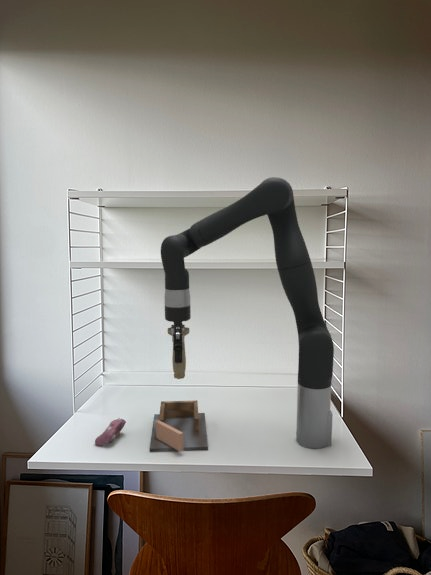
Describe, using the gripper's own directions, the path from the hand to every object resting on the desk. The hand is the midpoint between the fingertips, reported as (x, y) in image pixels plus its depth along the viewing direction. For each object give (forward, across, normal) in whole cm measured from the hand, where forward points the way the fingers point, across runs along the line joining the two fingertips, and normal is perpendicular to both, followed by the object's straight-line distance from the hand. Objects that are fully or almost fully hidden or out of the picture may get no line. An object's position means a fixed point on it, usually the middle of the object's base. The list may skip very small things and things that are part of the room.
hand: (178, 359), depth 143 cm
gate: (+20, -13, +3) cm, 24 cm away
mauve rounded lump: (+21, -7, +20) cm, 30 cm away
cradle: (+21, -4, 0) cm, 21 cm away
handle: (+6, 0, 0) cm, 6 cm away
